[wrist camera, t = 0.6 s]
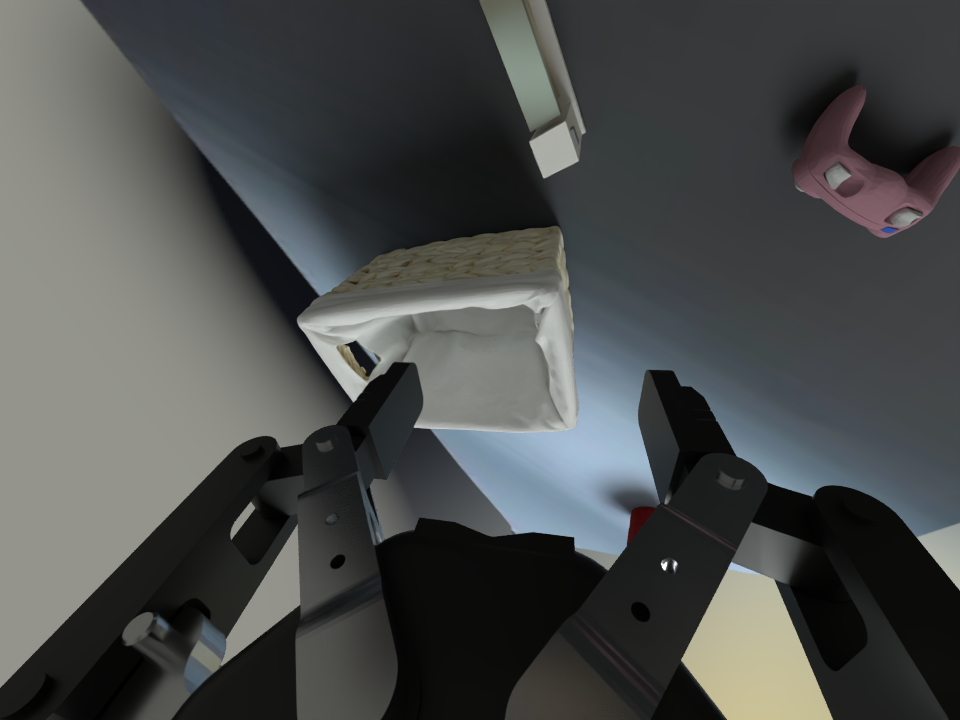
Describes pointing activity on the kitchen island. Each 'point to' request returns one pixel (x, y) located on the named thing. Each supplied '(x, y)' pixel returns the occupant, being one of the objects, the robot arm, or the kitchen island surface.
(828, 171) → the video game controller
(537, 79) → the panel
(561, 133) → the gate posts
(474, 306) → the storage basket
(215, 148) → the kitchen island surface
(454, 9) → the kitchen island surface
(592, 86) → the kitchen island surface
